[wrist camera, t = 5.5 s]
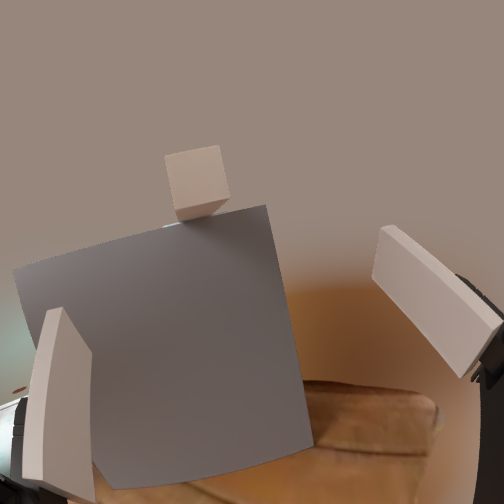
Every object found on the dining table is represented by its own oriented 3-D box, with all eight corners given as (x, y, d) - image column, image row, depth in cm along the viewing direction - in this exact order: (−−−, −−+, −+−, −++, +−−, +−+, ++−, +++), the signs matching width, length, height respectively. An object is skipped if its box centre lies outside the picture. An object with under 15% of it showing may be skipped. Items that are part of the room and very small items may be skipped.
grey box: (314, 445, 30) (265, 203, 28) (112, 489, 25) (12, 268, 22) (269, 380, 50) (231, 217, 47) (129, 413, 44) (75, 256, 42)
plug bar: (230, 197, 16) (218, 144, 16) (174, 210, 15) (164, 155, 15) (201, 224, 43) (197, 203, 43) (181, 228, 42) (177, 208, 42)
